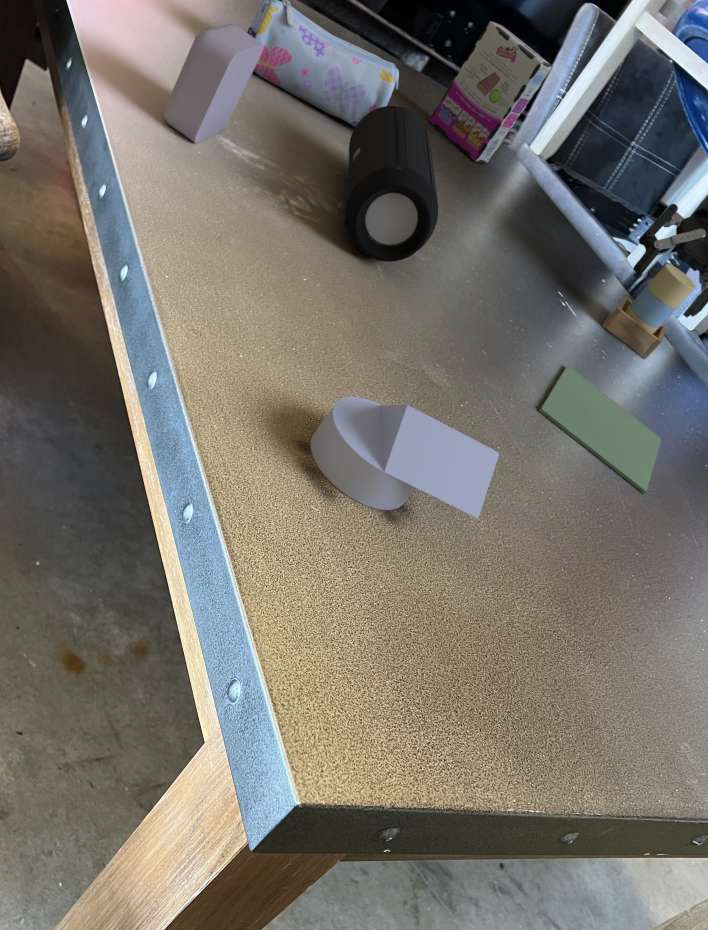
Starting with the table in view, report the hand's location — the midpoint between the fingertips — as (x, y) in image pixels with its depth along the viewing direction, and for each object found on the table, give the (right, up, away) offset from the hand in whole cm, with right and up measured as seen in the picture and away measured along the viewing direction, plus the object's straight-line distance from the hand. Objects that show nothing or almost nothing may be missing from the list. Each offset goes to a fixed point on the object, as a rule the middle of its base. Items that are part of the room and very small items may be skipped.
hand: (662, 294), depth 129 cm
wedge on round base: (-45, -31, -52) cm, 76 cm away
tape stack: (-3, -4, +4) cm, 7 cm away
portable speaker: (-42, +4, -16) cm, 45 cm away
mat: (-16, -22, -22) cm, 35 cm away
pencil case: (-48, +27, +2) cm, 56 cm away
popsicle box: (-22, +33, +27) cm, 48 cm away
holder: (-3, -4, +4) cm, 7 cm away
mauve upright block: (-62, +11, -24) cm, 67 cm away
